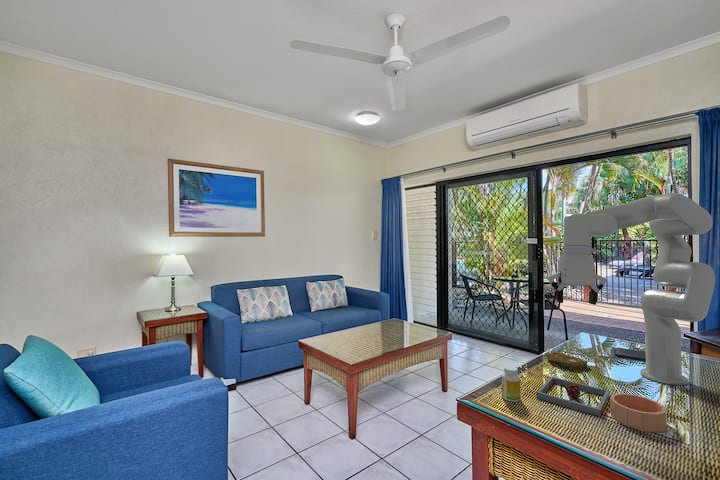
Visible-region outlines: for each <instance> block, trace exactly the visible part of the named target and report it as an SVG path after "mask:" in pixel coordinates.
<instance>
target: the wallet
mask: <svg viewBox="0 0 720 480" xmlns="http://www.w3.org/2000/svg"><path fill="white" fill-rule="evenodd" d="M609 357H611V358H615V359H623V360H630V361H636V362H642V363H646V354H645V350H643V351H642V350H638V349H629V348H623V347H611V349H610V354H609Z"/></svg>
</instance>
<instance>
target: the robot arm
mask: <svg viewBox="0 0 720 480" xmlns="http://www.w3.org/2000/svg"><path fill="white" fill-rule="evenodd" d="M646 223H648V225H649V229H650V230H651V232H652V234H653V235H654V237H655V239H656V241H657V242H658V245H659V250H658V255H657V257H656V263H655V266H654V268H653V269H654V270H653V275H652V277H653V279H652V280H653V281H654V283H655V284H657V285H658V286H660V287H666V288H673V289H679V290H680V289H681V290H685V291H678V290H669V289H662V288H652V289H648V290H646V291H645V290H644V292H643V293H642V294H641V295H640V306H641V310H642V314H643V319H644V339H645V340H644V342H645V343H644V344H645V346H644V347H645V349H644V351H645V354H646V362H645V368H641V369H640V370H639V371H640V375H641V376H643V377H644V378H646V379H649V381H650V380H651V381H654V382H658V383H662V384H666V385H674V386H675V385H676V386H683V385H684V386H685V385H688V383H689V379H688V377H686V376H685V375H683V370H682V369H683V366H682V364H683V363H682V331H681V327H680V325H679V324H678V323H677V321H676V320H679V321H686V322H690V323H698V322H702V321H703V320H704V319H705V318H706V317H707V314H709V313H708V312H709V308H710V304H711V301H712V297H713V293H714V289H715V285H716V275H715V272H714V269H713V268H712V267H711V266H710V265H709V264H706V263H705V262H696V261H691V256H692V248H691V246H690V243H688V242H687V240H685V238H684V237H683V236H693V235H694V236H698V235H703V234H706V233H708V232H709V231H710V230H711V229H712V227H713V223H714V221H713V217H712V215H711V214H710V213H709V212H708V211H707V210H706V209H705V208H704V207H702V206H701V205H700V204H698V203H697V202H695V201H694V200H693V199H691V198H690V197H688V196H686V195H684V194H681V193H678V192H677V193H676V192H673V193H666V194H656V195H650V196H645V197H641V198H638V199H635V200H632V201H628V202H625V203H621V204H618V205H613V206H609V207H606V208H601V209H598V210H597V209H596V210H593V211H589V212H585V213H569V214H567V215H565V216H564V218H563V254H560V255H559V261H558V267H557V272H554V273H553V274H550V275H548V276H547V277H546V279H547V280H548V282H549V284H550V286H552V288H553V289H554V290H555V299H556V301H557V303H560V304H564V291H563V289H564V288H565V287H566V286H569V287H570V286H572V287H573V286H574V287H588V289H589V290H590V291H589V292H588V303H589V304H590V305H593V306H597V303H598V293H600V290H602V289H603V288H604V287H605V285H606V283H607V281H608V280H607V278H604V276H601V275H599V274H597V273H596V266H595V261H594V259H595V258H594V256H593V255H592V253H595V252H596V248H595V247H592V237H593V238H601V237H603V238H604V237H608V236H611V235H613V234H614V233H615V232H616V231H617V230H622V229H630V228H633V227H637V226H639V225H642V224H646ZM555 279H556V281H557V283H556V282H555ZM597 281H598V283H597ZM596 283H597V284H596Z"/></svg>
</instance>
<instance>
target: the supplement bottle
mask: <svg viewBox="0 0 720 480" xmlns="http://www.w3.org/2000/svg"><path fill="white" fill-rule="evenodd" d="M518 374H519V369H518V368H517V367H515V366H514V365H513V366H512V365H505V366H503V373H502V374H501V396H502V398H503V400H505V401H507V402H512V403H517V402H519V401H520V400H521V376H520V375H518Z"/></svg>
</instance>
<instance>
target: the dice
mask: <svg viewBox="0 0 720 480" xmlns="http://www.w3.org/2000/svg"><path fill="white" fill-rule="evenodd" d="M565 390H566V395H567V397H571V398H574V399H577V398H578V397H579V396H581V393H582V392H581V390H579V387H578V386H576V385H573V384H569V385H568V386H565Z"/></svg>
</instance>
